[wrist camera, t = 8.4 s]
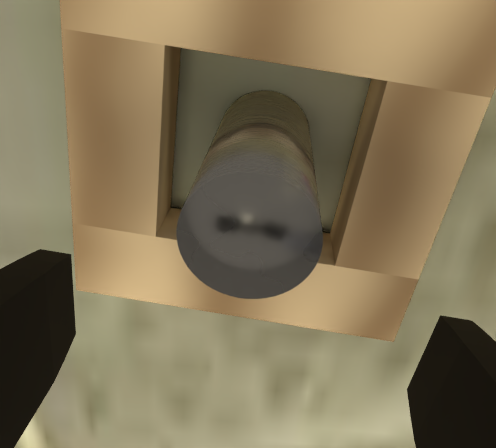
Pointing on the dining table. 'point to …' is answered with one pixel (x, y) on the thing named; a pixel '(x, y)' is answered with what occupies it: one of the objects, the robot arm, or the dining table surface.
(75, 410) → the dining table surface
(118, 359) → the dining table surface
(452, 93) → the square wooden frame
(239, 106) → the cylindrical peg
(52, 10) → the dining table surface
